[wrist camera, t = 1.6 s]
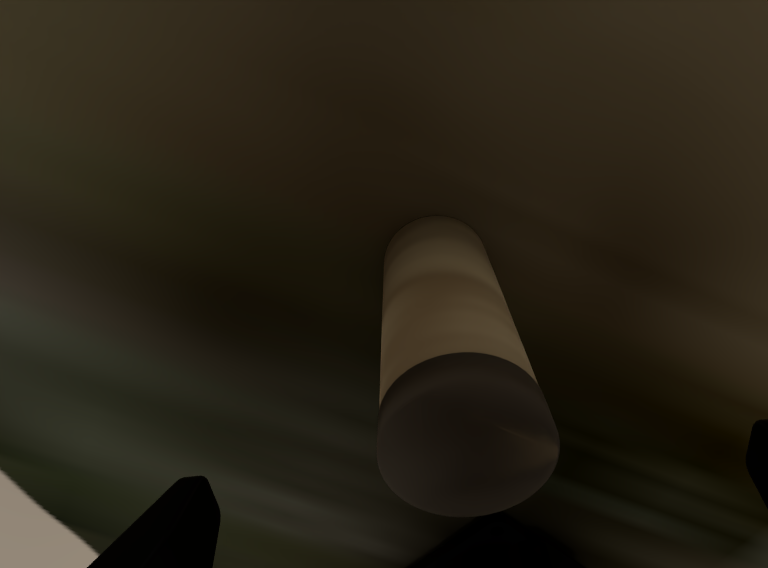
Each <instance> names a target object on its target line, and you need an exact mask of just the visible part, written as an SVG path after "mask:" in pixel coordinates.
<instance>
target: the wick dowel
mask: <svg viewBox="0 0 768 568" xmlns="http://www.w3.org/2000/svg"><path fill="white" fill-rule="evenodd" d="M559 451H560V441H559V434H558V431H557V428H556V425H555V423H554V420H553V418H552V415H551V413H550V410H549V407H548V405H547V402H546V400H545V397H544V395H543V393H542V391H541V389H540V387H539V385H538V383H537V380H536V378H535V375H534V373H533V370H532V367H531V365H530V362H529V360H528V357H527V355H526V352H525V350H524V347H523V345H522V342H521V339H520V337H519V334H518V332H517V329H516V327H515V324H514V322H513V319H512V317H511V314H510V311H509V309H508V306H507V304H506V301H505V299H504V296H503V294H502V291H501V289H500V286H499V283H498V281H497V278H496V276H495V273H494V271H493V268H492V266H491V263H490V261H489V258H488V255H487V253H486V250H485V248H484V245H483V243H482V241H481V239H480V237H479V236H478V235H477V233H476V232H475V231H474V230H473V229H472V228H471V227H469V226H468V225H467V224H465V223H463V222H462V221H460V220H457V219H455V218H451V217H446V216H427V217H423V218H419V219H417V220H414V221H412V222H410V223H408V224H407V225H405V226H404V227H402V228H401V229H400V230H399V231H398V232H397V233H396V234H395V235H394V236H393V238H392V239H391V241H390V243H389V245H388V247H387V249H386V253H385V257H384V277H383V308H382V339H381V371H380V402H379V413H378V429H377V462H378V467H379V470H380V472H381V475H382V477H383V479H384V480H385V482H386V484H387V485H388V486H389V487H390V489H391V490H392V491H393V492H394V493H395V494H396V495H397V496H399V497H400V498H401V499H403V500H404V501H406V502H407V503H409V504H411V505H413V506H414V507H417V508H419V509H421V510H424V511H427V512H430V513H433V514H438V515H443V516H451V517H475V516H482V515H488V514H492V513H496V512H500V511H503V510H505V509H508V508H511V507H513V506H515V505H517V504H519V503H521V502H522V501H524V500H526V499H527V498H529V497H530V496H531V495H533V494H534V493H535V492H537V491H538V490H539V489H540V488H541V487H542V486H543V485H544V483H545V482H546V481H547V480H548V478H549V477H550V475H551V474H552V472H553V470H554V468H555V466H556V463H557V461H558V456H559Z"/></svg>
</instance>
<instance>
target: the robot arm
mask: <svg viewBox="0 0 768 568" xmlns="http://www.w3.org/2000/svg"><path fill="white" fill-rule="evenodd" d="M746 465H747V469H748V472H749V474H750V476H751V478H752V480H753V482H754V484H755V486H756V488H757V489H758V491H759V493H760V495H761V497H762V499H763V501H764V503H765V505H766V507H767V508H768V419H762V420H758V421H756V422H755V423H754V424H753V427H752V431H751V436H750V440H749V445H748V450H747V454H746ZM219 526H220V509H219V506H218V503H217V501H216V498H215V496H214V494H213V491H212V489H211V486H210V484H209V482H208V480H207V478H205V477H204V476H192V477H183V478H181V479H179V480H178V481H176V482H175V483H174V484H173V485H172V486H171V487H170V488H169V489H168V490H167V491H166V492H165V493H164V494H163V495H162V496H161V497H160V498H159V499H158V500H157V501H156V502H155V503H154V504H153V505H151V506H150V507H149V508H148V509H147V510H146V511H145V512H144V513H143V514H142V515H141V516H140V517H139V518H138V519H137V520H136V521H135V522H134V523H133V524H132V525H131V526H130V527H129V528H128V529H127V530H126V531H125V532H123V533H122V534H121V535H120V536H119V537H118V538H117V539H116V540H115V541H114V542H113V543H112V544H111V545H110V546H109V547H108V548H107V549H106V550H105V551H104V552H103V553H102V554H101V555H100V556H99V557H98V558H97V559H95V560H94V561H93V563H91V565H89V566H88V567H87V568H212V567H213V561H214V556H215V550H216V544H217V538H218V532H219ZM412 568H583V567H582V566H580V565H579V564H577V563H576V562H574V561H573V560H572V559H570V558H569V557H567V556H566V555H564V554H563V553H561V552H560V551H558V550H557V549H555V548H554V547H552V546H551V545H550V544H548V543H546V542H544V541H542V540H540V539H539V538H537V537H536V536H535V535H533V534H532V533H530V532H529V531H527V530H526V529H524V528H523V527H521V526H520V525H518V524H517V523H515V522H514V521H513V520H511V519H510V518H508V517H507V516H505V515H503V514H501V513H492V514H489V515H487V516H485V517H484V518H482V519H481V520H480V521H478V522H477V523H475V524H474V525H472V526H471V527H469V528H468V529H467V530H465V531H464V532H462V533H461V534H459V535H458V536H456V537H455V538H454V539H452V540H451V541H449V542H448V543H446V544H445V545H443V546H442V547H441V548H439V549H438V550H436V551H435V552H433V553H432V554H430V555H429V556H428V557H426V558H425V559H423V560H422V561H420V562H419V563H417V564H416V565H415V566H413V567H412Z"/></svg>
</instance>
